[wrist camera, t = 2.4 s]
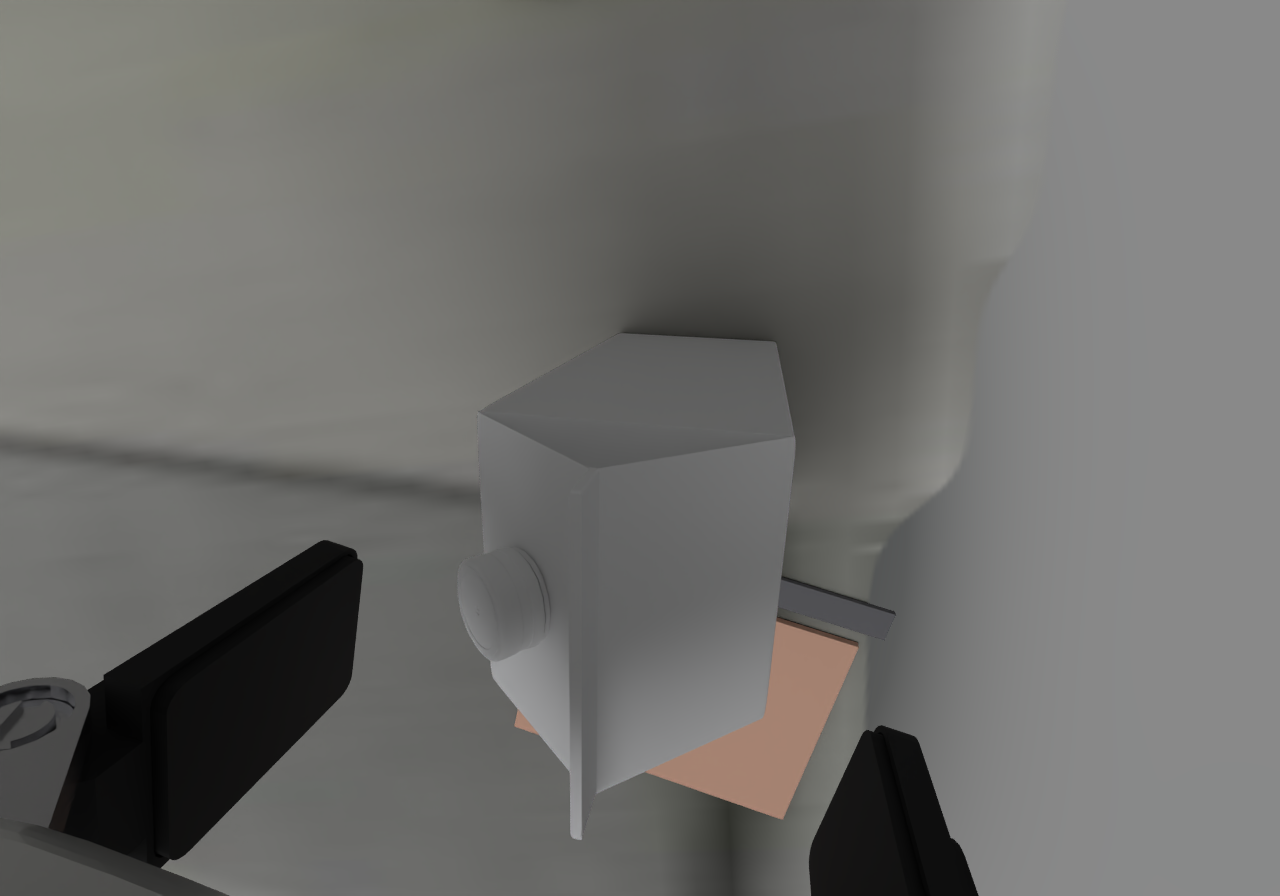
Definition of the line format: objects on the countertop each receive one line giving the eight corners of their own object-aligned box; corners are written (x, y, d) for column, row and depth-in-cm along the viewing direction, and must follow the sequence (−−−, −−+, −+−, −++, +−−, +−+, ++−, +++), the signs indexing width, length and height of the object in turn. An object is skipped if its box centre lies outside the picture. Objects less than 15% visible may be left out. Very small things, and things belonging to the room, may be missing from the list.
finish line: (544, 503, 31) (542, 506, 31) (894, 611, 29) (895, 615, 29) (539, 529, 31) (537, 531, 31) (883, 636, 30) (884, 640, 29)
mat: (554, 547, 32) (552, 550, 31) (857, 642, 30) (858, 647, 30) (516, 721, 36) (514, 726, 35) (782, 813, 34) (782, 819, 34)
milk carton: (777, 340, 26) (815, 515, 9) (762, 491, 29) (767, 879, 11) (618, 331, 28) (363, 470, 10) (615, 477, 30) (403, 806, 12)
